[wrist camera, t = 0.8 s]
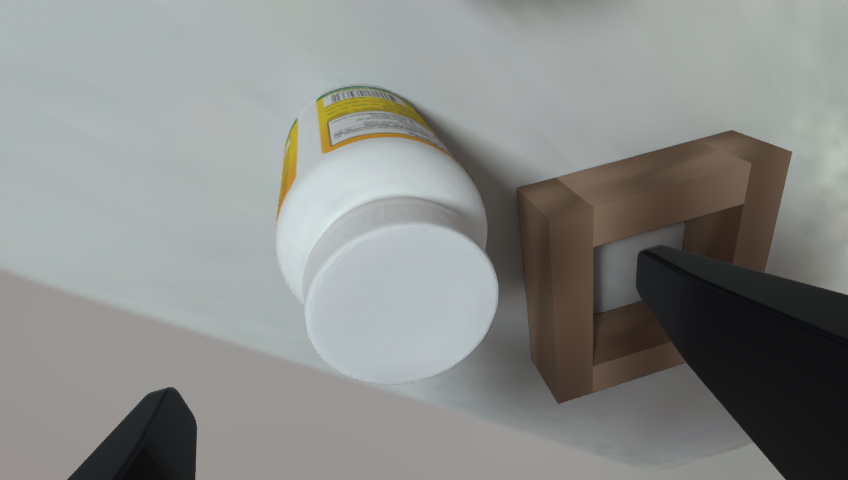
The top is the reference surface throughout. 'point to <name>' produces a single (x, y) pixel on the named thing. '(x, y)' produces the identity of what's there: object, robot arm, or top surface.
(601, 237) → the socket block
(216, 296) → the top surface
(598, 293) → the top surface
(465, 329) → the supplement bottle
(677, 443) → the top surface
